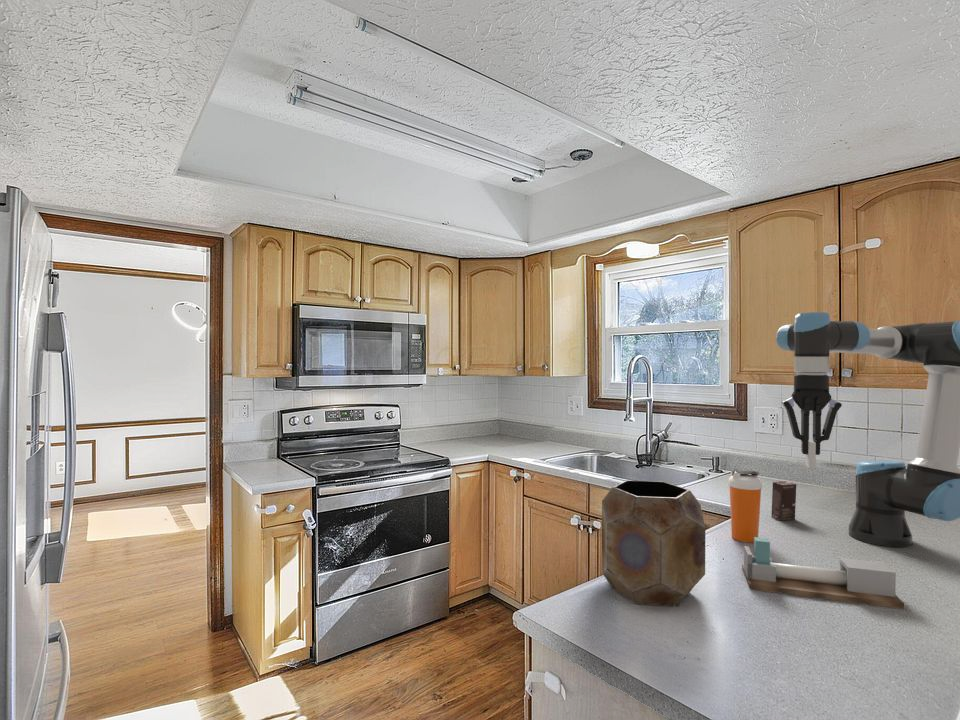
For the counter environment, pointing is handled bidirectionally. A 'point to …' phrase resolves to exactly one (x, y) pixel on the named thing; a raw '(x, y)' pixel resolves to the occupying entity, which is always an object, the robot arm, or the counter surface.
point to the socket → (758, 568)
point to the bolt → (797, 567)
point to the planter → (652, 542)
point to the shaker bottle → (745, 504)
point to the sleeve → (869, 577)
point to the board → (822, 591)
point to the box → (783, 500)
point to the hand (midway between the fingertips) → (810, 467)
